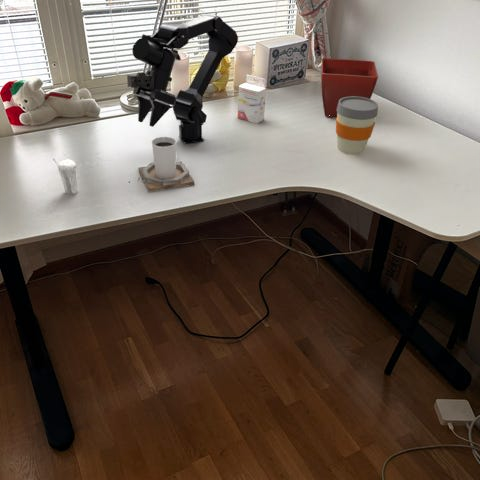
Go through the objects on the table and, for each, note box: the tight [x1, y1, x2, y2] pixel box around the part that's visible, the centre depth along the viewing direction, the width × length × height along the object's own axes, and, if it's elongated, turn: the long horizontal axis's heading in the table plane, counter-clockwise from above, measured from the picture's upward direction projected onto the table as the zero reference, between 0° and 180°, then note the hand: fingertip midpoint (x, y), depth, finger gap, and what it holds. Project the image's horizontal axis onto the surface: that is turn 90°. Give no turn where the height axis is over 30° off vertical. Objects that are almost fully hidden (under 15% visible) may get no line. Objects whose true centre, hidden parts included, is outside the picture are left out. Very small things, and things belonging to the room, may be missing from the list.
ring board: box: [137, 161, 195, 193], centre depth 148 cm, size 13×13×2 cm
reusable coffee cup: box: [335, 96, 379, 155], centre depth 164 cm, size 13×13×15 cm
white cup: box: [151, 136, 177, 179], centre depth 146 cm, size 7×7×10 cm
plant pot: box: [320, 57, 379, 119], centre depth 189 cm, size 19×19×17 cm
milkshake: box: [52, 158, 78, 196], centre depth 138 cm, size 5×5×10 cm
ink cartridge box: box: [237, 74, 267, 124], centre depth 182 cm, size 9×5×15 cm, turn 58°
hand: (145, 124), depth 151 cm, fingers open, 9 cm apart
